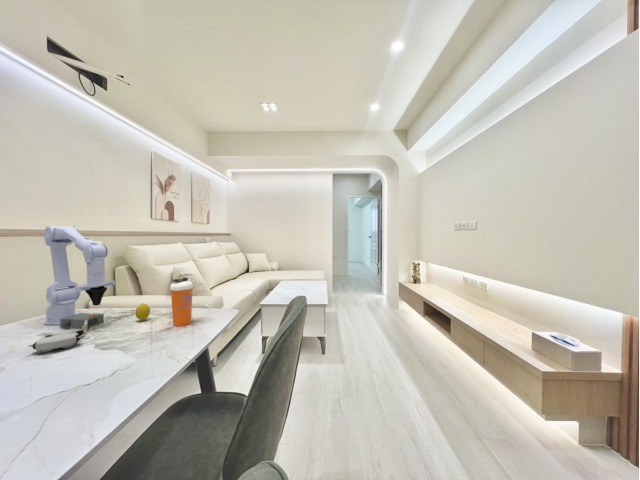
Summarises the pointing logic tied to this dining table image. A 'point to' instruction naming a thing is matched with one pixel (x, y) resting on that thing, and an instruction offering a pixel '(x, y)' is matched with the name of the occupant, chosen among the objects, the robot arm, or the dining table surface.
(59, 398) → the dining table surface
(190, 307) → the shaker bottle
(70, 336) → the robot toy
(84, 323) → the door
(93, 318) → the case
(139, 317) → the lemon
